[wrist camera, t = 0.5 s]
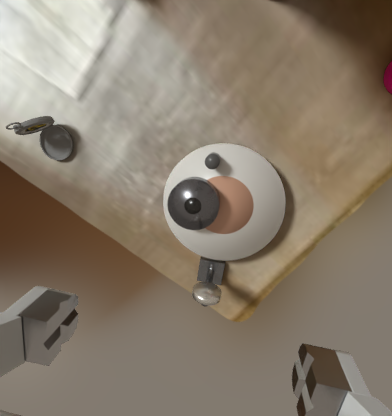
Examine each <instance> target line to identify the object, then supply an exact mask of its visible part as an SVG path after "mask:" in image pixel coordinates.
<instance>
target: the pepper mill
mask: <svg viewBox="0 0 392 416" xmlns="http://www.w3.org/2000/svg"><path fill="white" fill-rule="evenodd" d="M384 85H385V87H386V89H387V91H388V92H389V93H391V94H392V61H391V62H390V64H389V65H388V66H387V68H386V70H385V73H384Z"/></svg>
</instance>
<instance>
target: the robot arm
mask: <svg viewBox="0 0 392 416" xmlns="http://www.w3.org/2000/svg"><path fill="white" fill-rule="evenodd" d="M77 305H78V296H77V295H76V294H72V293H68V292H64V291H60V290H55V289H50V288H46V287H42V286H36V287H34V288H33V289H32V290H30V291H29V292H28V293H27V294H25V295H24V296H23V297H22V298H20V299H19V300H18V301H17V302H15V303H14V304H13V305H12V306H10V307H9V308H8V309H7V310H6V311H5V312H3V313H2V312H0V377H1V376H3V375H5V374H6V373H8V372H9V371H11V370H12V369H14V368H16V367H18V366H19V365H21V364H23V363H24V362H25V361H27V362H32V363H37V364H42V365H46V366H49V365H50V364H51V362H52V361H53V360H54V358H55V357H56V356H57V355H58V353H59V352H60V351H61V344H62V343H65V342H67V341H69V339H70V338H71V337H72V335H73V333H74V331H75V329H76V326H77V322H78V313H77V312H76V310H75V307H76V306H77ZM298 353H299V358H300V359H299V360H298V361H296V362H295V364H294V367H293V372H292V386H293V392H294V394H295V395H296V397H297V398H298V399H299V400H298V403H297V412H298V416H392V412H391V411H390V410H389V409H388V408H387V407H386V406H385V405H384V404H383V403H381V402H380V401H379V400H378V399H377V398H375V397H371V395H370V393H369V391H368V388H367V387H366V384H365V382H364V380H363V378H362V376H361V374H360V372H359V370H358V368H357V366H356V364H355V362H354V360H353V358H352V356H351V354H350V353H349V352H344V351H340V350H334V349H327V348H323V347H318V346H313V345H309V344H304V343H303V344H302V345H301V346H300V348H299V351H298ZM0 416H21V415H17V414H13V413H9V412H6V411H2V410H0Z"/></svg>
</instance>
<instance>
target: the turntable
mask: <svg viewBox="0 0 392 416" xmlns="http://www.w3.org/2000/svg"><path fill="white" fill-rule="evenodd" d="M189 177H201V178H204V179H206V180H208V181H209V182H211V183H212V184H213V185H214V186H215V187H216V189H217V191H218V193H219V196H220V207H219V211H218V215H217V217H216V219H215V220H214V222H213V223H212V224H211V225H209V226H208V227H206V228H204V229H201V230H188V229H185V228H183V227H181V226H179V225H178V224H177V223H175V222H174V220H173V219H172V218H171V216H170V214H169V211H168V206H167V201H168V197H169V194H170V192H171V191H172V189H173V188H174V187H175V186H176V185H177V184H178V183H179V182H180V181H182V180H183V179H186V178H189ZM163 205H164V213H165V217H166V220H167V222H168V225H169V227H170V229H171V231H172V232H173V234H174V235H175V236H176V238H177V239H178V240H179V241H180V242H181V243H182V244H183V245H184V246H185V247H187V248H188V249H190V250H191V251H193V252H194V253H196V254H198V255H201V256H203V257H206V258H210V259H214V260H226V261H228V260H237V259H241V258H245V257H248V256H250V255H252V254H254V253H256V252H258V251H259V250H261V249H263V248H264V247H265V246H266V245H267V244H268V243H269V242H270V241H271V240H272V239H273V238H274V237H275V235H276V234H277V232H278V231H279V229H280V226H281V224H282V222H283V219H284V215H285V209H286V198H285V191H284V187H283V184H282V182H281V179H280V177H279V175H278V174H277V172H276V170H275V169H274V168H273V166H272V165H271V164H270V163H269V162H268V161H267V160H266V159H265V158H264V157H263V156H261V155H260V154H259V153H257V152H255V151H254V150H252V149H250V148H247V147H245V146H242V145H237V144H232V143H216V144H211V145H207V146H204V147H201V148H199V149H197V150H195V151H193V152H191V153H190V154H188V155H187V156H186V157H184V158H183V159H182V160H181V161H180V162H179V163H178V164H177V165H176V166H175V168H174V169H173V171H172V172H171V174H170V176H169V178H168V180H167V183H166V186H165V190H164V197H163Z"/></svg>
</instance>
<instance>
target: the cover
mask: <svg viewBox="0 0 392 416" xmlns="http://www.w3.org/2000/svg"><path fill="white" fill-rule="evenodd" d="M167 206H168V211H169V214H170V216H171V218H172V219H173V220H174V222H175V223H177V224H178V225H179V226H181V227H183V228H185V229H188V230H201V229H204V228H206V227H208V226H209V225H211V224H212V223H213V222H214V220H215V219H216V217H217V215H218V211H219V207H220V196H219V193H218V191H217V189H216V187H215V186H214V185H213V184H212V183H211V182H209V181H208V180H206V179H204V178H201V177H189V178H186V179H183V180H182V181H180V182H179V183H178V184H177V185H176V186H175V187H174V188H173V189H172V191H171V192H170V194H169V197H168V201H167Z"/></svg>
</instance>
